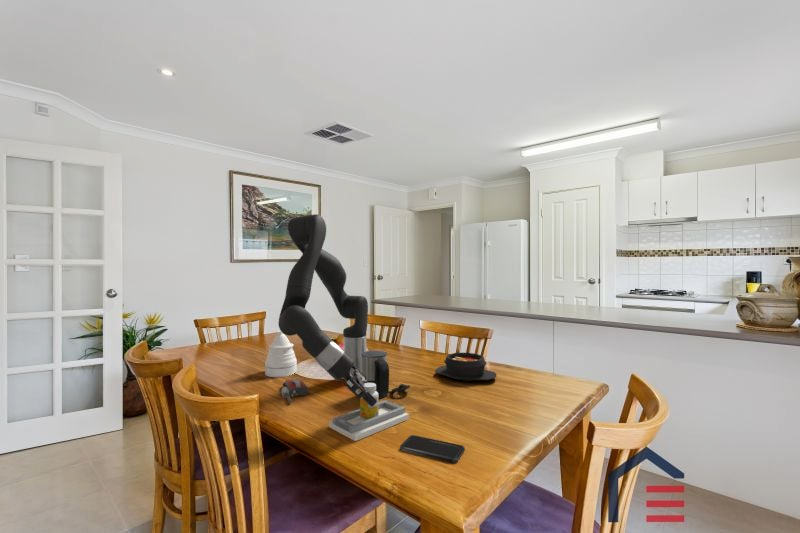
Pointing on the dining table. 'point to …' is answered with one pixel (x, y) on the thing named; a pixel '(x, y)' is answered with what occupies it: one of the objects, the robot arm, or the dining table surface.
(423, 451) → the phone
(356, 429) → the board
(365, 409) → the supplement bottle
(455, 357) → the casserole
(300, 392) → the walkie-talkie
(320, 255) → the robot arm
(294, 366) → the honey pot
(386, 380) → the milk frother
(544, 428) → the dining table surface
